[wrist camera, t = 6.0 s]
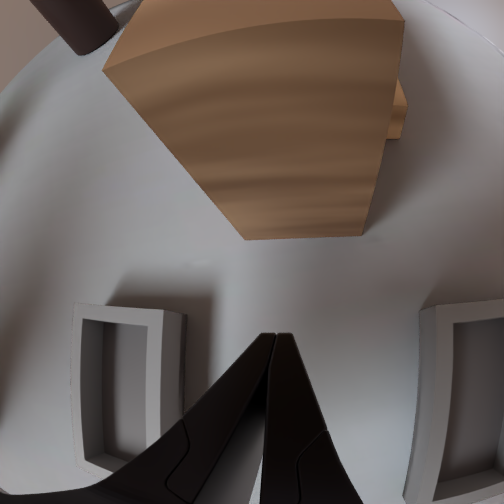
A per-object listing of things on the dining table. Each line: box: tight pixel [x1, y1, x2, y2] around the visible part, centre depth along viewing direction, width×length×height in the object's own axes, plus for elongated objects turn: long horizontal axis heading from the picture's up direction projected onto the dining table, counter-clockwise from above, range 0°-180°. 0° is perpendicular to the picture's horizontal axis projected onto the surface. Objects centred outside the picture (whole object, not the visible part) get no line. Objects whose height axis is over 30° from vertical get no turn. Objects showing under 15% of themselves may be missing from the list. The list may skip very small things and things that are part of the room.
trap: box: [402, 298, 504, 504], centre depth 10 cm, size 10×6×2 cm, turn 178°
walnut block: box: [102, 0, 405, 240], centre depth 12 cm, size 14×6×12 cm, turn 178°
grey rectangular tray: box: [71, 303, 187, 479], centre depth 14 cm, size 10×6×2 cm, turn 178°
